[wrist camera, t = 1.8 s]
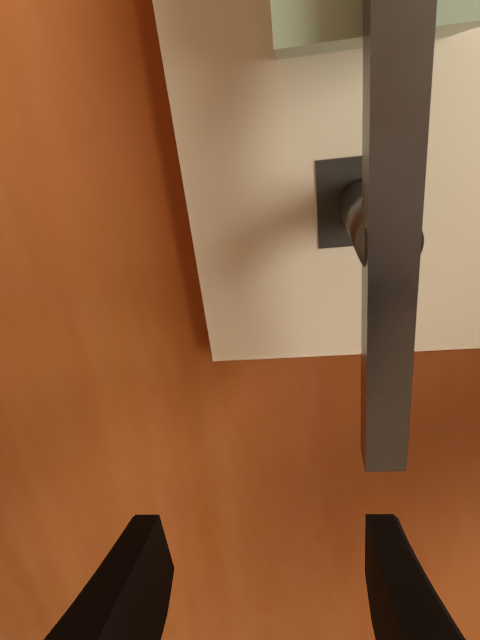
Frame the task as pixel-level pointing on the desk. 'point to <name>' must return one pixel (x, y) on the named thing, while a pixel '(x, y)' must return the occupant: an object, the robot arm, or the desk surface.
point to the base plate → (308, 184)
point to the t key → (390, 216)
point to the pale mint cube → (348, 24)
